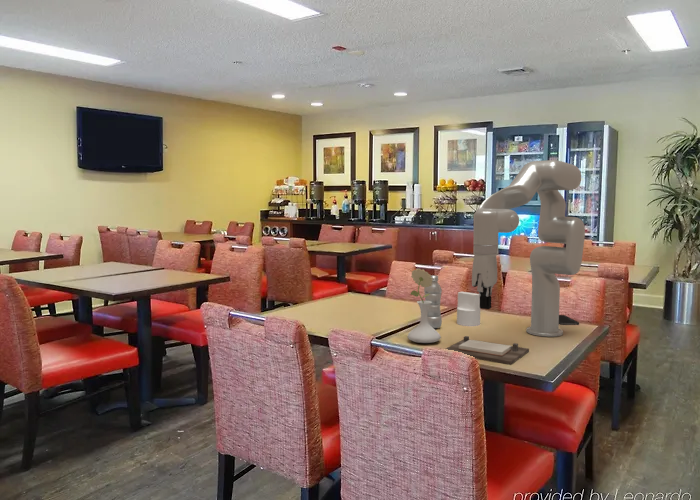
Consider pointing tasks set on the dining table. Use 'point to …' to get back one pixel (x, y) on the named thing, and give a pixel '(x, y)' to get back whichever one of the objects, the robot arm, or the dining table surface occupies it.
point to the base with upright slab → (468, 309)
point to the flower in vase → (423, 311)
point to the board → (506, 358)
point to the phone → (567, 320)
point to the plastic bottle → (434, 302)
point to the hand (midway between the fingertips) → (485, 308)
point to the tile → (485, 347)
